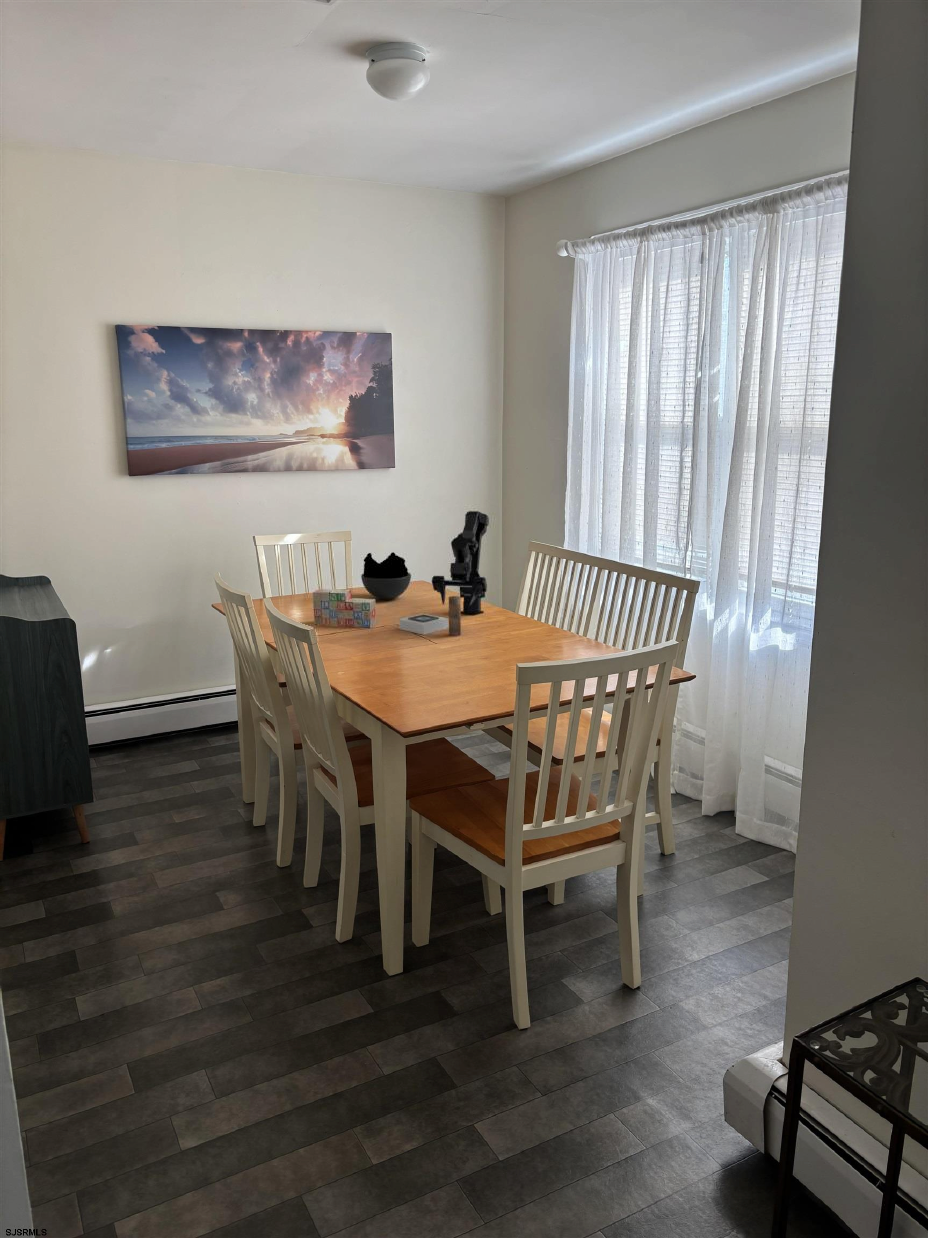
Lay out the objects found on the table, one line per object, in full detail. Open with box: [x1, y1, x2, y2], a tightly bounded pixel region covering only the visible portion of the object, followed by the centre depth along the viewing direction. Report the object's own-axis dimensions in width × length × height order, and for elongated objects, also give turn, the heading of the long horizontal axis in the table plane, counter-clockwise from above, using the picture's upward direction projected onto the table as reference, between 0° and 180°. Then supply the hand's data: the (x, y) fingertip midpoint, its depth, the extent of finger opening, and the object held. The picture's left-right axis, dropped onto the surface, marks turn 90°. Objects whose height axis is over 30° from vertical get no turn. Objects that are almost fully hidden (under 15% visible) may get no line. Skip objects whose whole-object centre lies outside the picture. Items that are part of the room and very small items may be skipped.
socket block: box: [398, 613, 449, 635], centre depth 315 cm, size 12×12×4 cm
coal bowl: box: [360, 552, 412, 600], centre depth 363 cm, size 20×20×19 cm
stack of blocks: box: [312, 588, 377, 629], centre depth 320 cm, size 21×6×12 cm, turn 76°
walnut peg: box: [448, 595, 462, 637], centre depth 305 cm, size 4×4×13 cm
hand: (456, 604), depth 307 cm, fingers open, 9 cm apart
